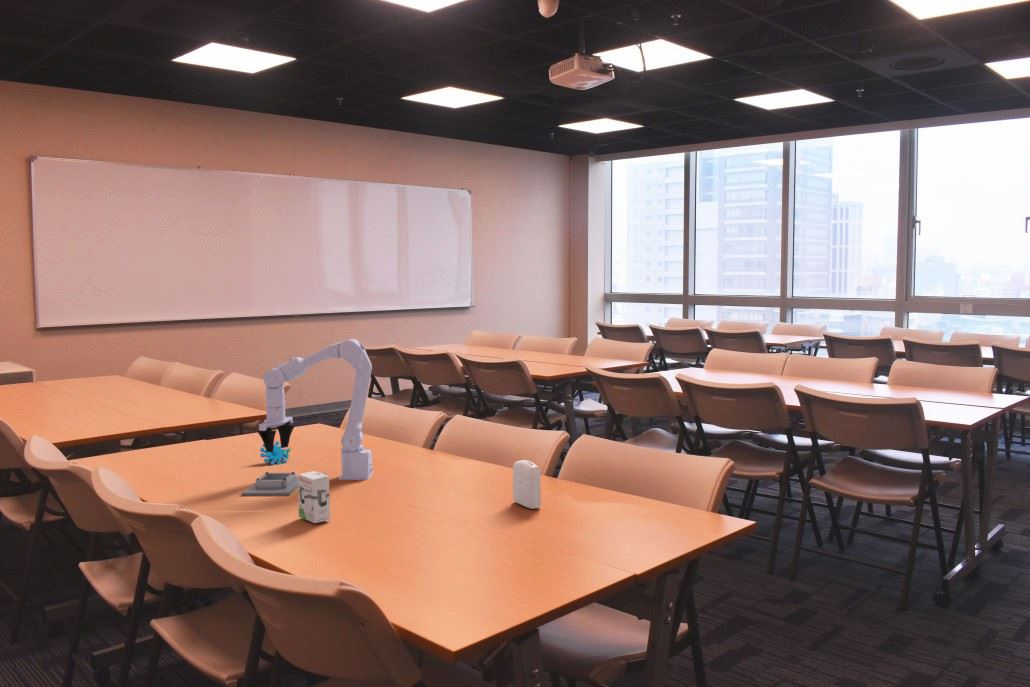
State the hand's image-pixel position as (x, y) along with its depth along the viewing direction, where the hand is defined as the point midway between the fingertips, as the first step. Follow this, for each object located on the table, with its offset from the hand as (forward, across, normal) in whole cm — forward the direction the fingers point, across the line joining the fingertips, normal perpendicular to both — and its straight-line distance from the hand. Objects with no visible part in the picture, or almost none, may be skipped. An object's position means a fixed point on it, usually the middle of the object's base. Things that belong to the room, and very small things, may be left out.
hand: (277, 449), depth 259 cm
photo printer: (+10, +2, +84) cm, 85 cm away
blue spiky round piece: (+11, -18, -13) cm, 24 cm away
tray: (+10, +8, +5) cm, 13 cm away
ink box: (+10, +32, +35) cm, 49 cm away
